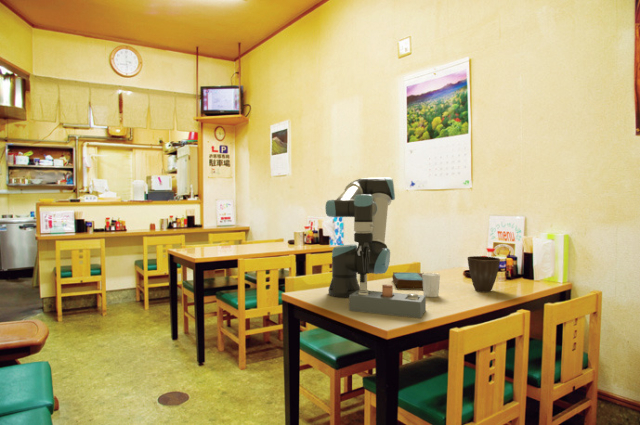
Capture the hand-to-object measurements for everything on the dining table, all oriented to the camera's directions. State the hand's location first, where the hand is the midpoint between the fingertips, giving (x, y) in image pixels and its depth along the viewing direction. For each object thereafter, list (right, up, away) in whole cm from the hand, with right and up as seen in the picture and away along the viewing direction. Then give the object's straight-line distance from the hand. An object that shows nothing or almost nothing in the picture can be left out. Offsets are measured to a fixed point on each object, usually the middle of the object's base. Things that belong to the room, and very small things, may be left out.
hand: (363, 289), depth 164 cm
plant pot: (+63, -7, +34) cm, 72 cm away
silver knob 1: (0, -6, 0) cm, 6 cm away
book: (+31, -7, +49) cm, 58 cm away
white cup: (+34, -7, +22) cm, 41 cm away
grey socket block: (+9, -8, -4) cm, 12 cm away
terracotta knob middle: (+9, -3, -4) cm, 10 cm away
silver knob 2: (+18, -6, -8) cm, 21 cm away
